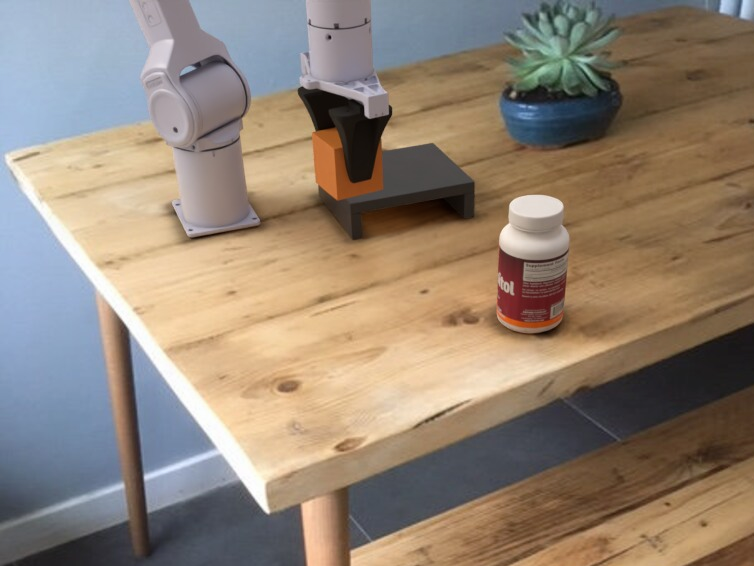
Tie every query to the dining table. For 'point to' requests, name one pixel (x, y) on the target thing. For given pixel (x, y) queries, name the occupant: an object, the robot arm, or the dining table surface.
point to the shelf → (407, 186)
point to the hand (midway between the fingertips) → (347, 170)
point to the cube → (341, 167)
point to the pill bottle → (532, 265)
